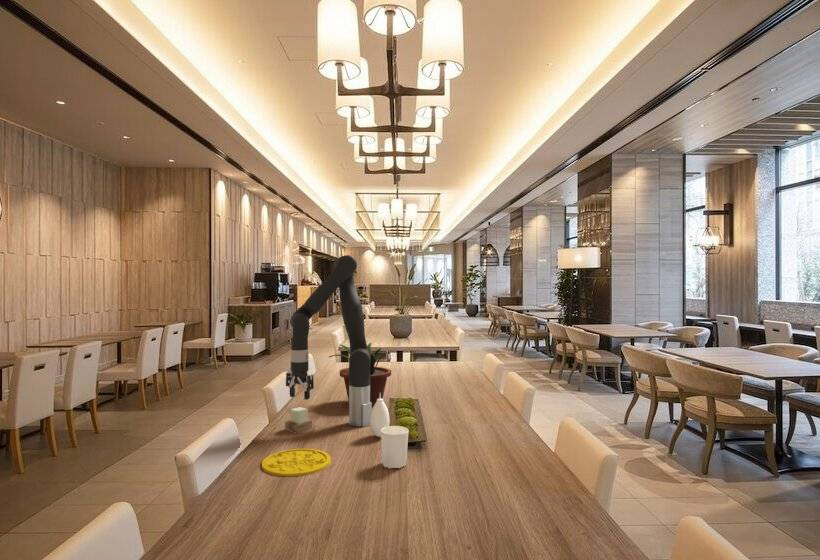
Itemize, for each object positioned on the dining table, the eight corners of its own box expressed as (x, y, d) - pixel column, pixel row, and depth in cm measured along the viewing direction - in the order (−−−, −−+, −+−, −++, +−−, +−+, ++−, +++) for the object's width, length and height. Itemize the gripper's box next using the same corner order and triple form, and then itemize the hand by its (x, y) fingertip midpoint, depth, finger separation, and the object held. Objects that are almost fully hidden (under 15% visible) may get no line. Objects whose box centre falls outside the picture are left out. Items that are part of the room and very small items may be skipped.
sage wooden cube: (307, 420, 207) (307, 408, 207) (298, 423, 203) (298, 411, 203) (299, 418, 210) (299, 407, 210) (290, 421, 206) (290, 409, 206)
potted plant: (388, 414, 231) (389, 351, 231) (321, 413, 232) (322, 350, 232) (392, 396, 266) (393, 342, 266) (334, 396, 266) (334, 341, 266)
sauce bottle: (386, 440, 193) (387, 395, 193) (367, 438, 195) (368, 394, 195) (391, 434, 201) (391, 391, 201) (373, 433, 203) (373, 390, 203)
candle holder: (374, 466, 166) (375, 431, 166) (389, 457, 175) (389, 424, 175) (399, 472, 162) (400, 436, 162) (413, 462, 170) (413, 428, 170)
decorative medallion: (260, 480, 155) (260, 474, 155) (262, 455, 177) (262, 449, 177) (334, 473, 161) (334, 467, 161) (327, 449, 184) (327, 444, 184)
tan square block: (312, 429, 208) (312, 420, 208) (298, 434, 201) (298, 424, 201) (298, 426, 212) (298, 417, 212) (285, 431, 205) (285, 421, 205)
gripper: (318, 360, 206) (317, 398, 206) (294, 357, 214) (294, 394, 214) (305, 362, 199) (305, 402, 200) (281, 359, 207) (281, 397, 207)
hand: (299, 398), depth 207 cm, fingers open, 8 cm apart
